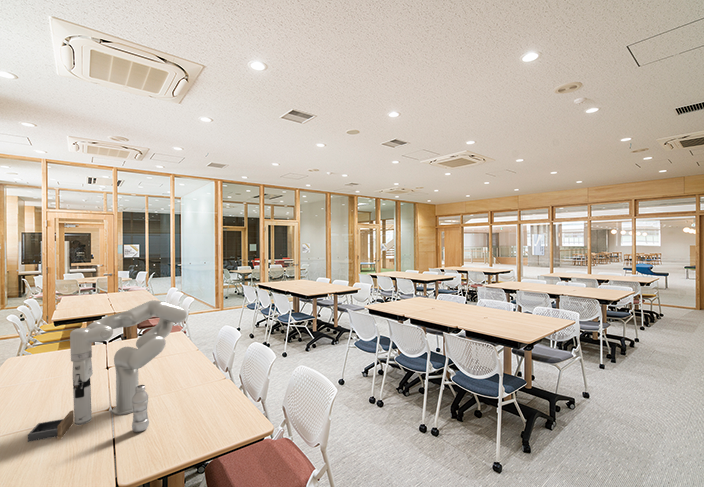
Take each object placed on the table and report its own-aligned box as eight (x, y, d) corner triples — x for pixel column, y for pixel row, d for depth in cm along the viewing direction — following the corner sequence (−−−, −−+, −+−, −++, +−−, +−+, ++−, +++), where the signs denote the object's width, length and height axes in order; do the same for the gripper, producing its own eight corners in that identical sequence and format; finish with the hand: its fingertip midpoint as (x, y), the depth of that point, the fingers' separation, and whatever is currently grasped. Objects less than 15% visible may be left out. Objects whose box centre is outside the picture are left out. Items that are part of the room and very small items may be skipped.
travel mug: (82, 426, 148) (81, 382, 148) (70, 424, 149) (69, 381, 149) (95, 418, 154) (94, 376, 154) (84, 417, 156) (83, 375, 155)
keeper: (67, 425, 153) (67, 418, 153) (59, 436, 145) (58, 429, 145) (38, 430, 149) (38, 423, 149) (27, 442, 140) (27, 434, 140)
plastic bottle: (152, 427, 151) (152, 384, 151) (138, 435, 145) (138, 390, 145) (142, 424, 153) (142, 382, 153) (128, 432, 147) (127, 388, 147)
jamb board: (73, 422, 155) (73, 410, 155) (61, 439, 142) (61, 425, 142) (70, 423, 155) (70, 410, 155) (57, 439, 142) (57, 426, 142)
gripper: (84, 360, 145) (86, 400, 145) (97, 348, 161) (98, 384, 161) (63, 363, 142) (64, 404, 142) (78, 350, 158) (79, 387, 158)
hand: (82, 393), depth 152 cm, fingers closed on travel mug, 6 cm apart
